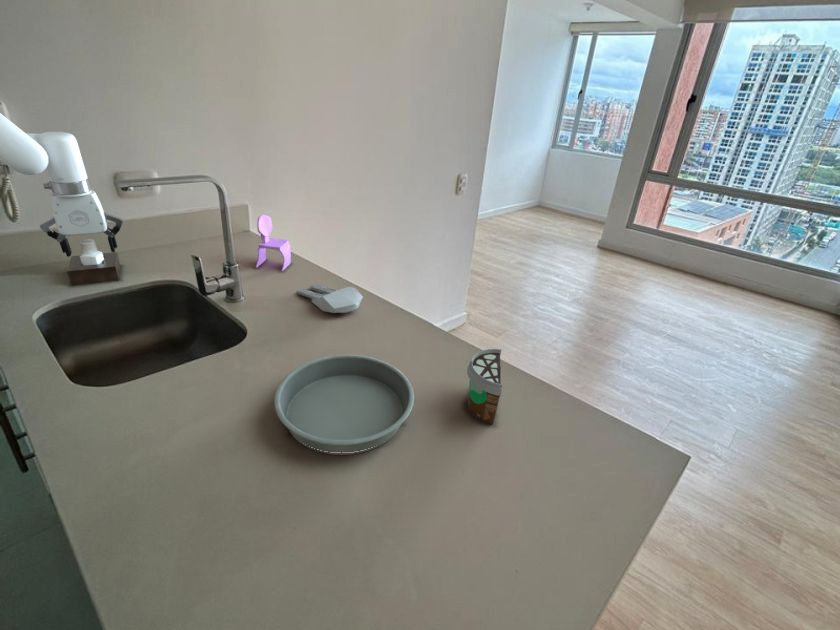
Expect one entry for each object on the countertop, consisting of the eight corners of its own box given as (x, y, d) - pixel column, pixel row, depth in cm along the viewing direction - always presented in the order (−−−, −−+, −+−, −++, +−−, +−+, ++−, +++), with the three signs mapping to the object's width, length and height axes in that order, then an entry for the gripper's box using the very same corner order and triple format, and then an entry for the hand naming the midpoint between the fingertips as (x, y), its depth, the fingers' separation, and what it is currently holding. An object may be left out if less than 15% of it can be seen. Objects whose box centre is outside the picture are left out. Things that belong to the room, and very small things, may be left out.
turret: (321, 292, 127) (319, 276, 125) (370, 308, 115) (369, 290, 113) (291, 303, 120) (289, 286, 118) (341, 321, 108) (339, 303, 106)
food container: (463, 383, 93) (470, 343, 88) (493, 388, 92) (501, 347, 87) (459, 424, 82) (466, 381, 77) (493, 429, 81) (502, 386, 77)
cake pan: (428, 389, 90) (430, 371, 88) (382, 482, 69) (383, 462, 67) (319, 359, 96) (318, 342, 93) (246, 437, 75) (243, 417, 73)
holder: (71, 285, 114) (66, 271, 112) (76, 269, 122) (71, 256, 120) (119, 280, 119) (115, 266, 117) (120, 265, 126) (116, 252, 124)
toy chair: (282, 272, 131) (279, 223, 124) (254, 268, 132) (248, 219, 124) (293, 262, 138) (290, 214, 131) (266, 258, 139) (261, 211, 132)
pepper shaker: (85, 278, 118) (74, 244, 114) (92, 271, 122) (82, 238, 117) (101, 278, 119) (92, 244, 114) (108, 271, 122) (99, 239, 118)
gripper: (23, 193, 102) (48, 262, 111) (112, 189, 110) (130, 254, 118) (29, 184, 108) (53, 251, 116) (114, 181, 115) (130, 243, 124)
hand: (91, 252), depth 117 cm, fingers open, 9 cm apart
